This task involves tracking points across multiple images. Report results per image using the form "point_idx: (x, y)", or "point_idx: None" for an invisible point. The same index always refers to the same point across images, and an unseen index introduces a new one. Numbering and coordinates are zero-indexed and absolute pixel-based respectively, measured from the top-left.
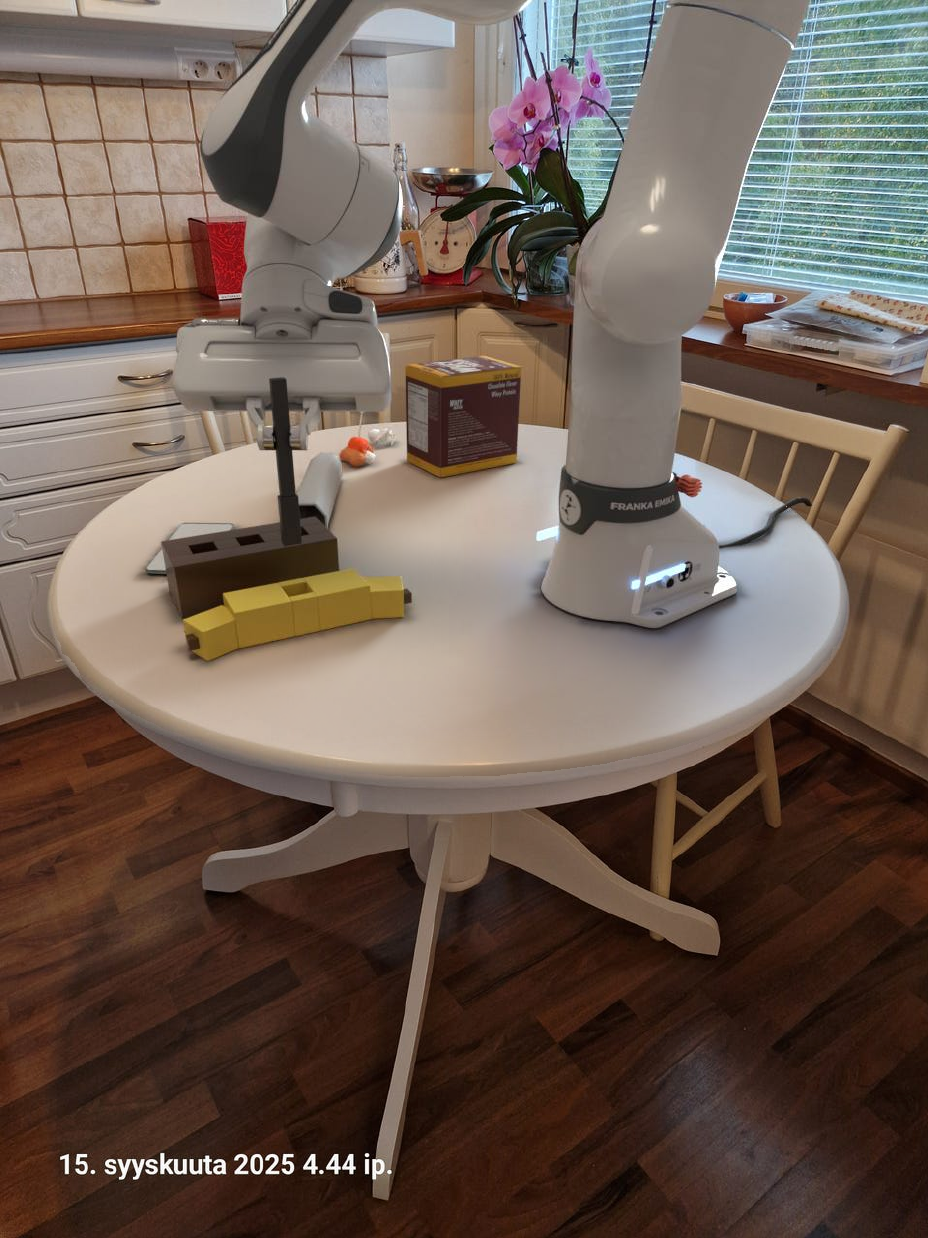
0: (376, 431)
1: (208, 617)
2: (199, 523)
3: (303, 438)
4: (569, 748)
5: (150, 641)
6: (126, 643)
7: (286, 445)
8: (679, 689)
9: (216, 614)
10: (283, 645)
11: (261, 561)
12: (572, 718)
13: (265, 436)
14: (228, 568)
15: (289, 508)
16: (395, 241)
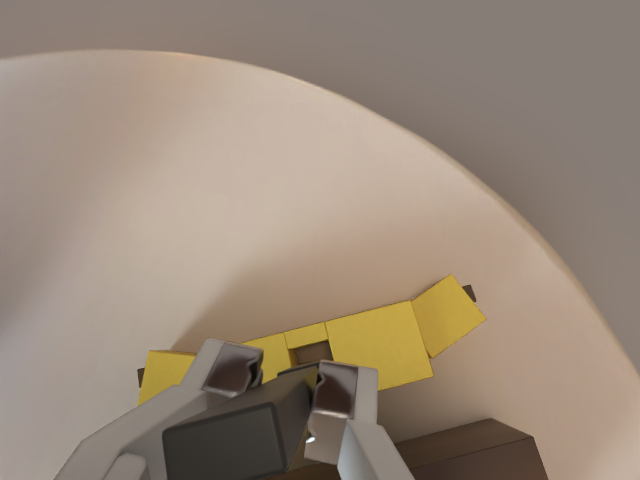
0: None
1: (449, 318)
2: None
3: (210, 341)
4: (94, 58)
5: (526, 355)
6: (559, 356)
7: (276, 380)
8: None
9: (438, 325)
10: (342, 304)
11: None
12: (68, 98)
13: (346, 376)
14: (431, 455)
15: (303, 365)
16: None
